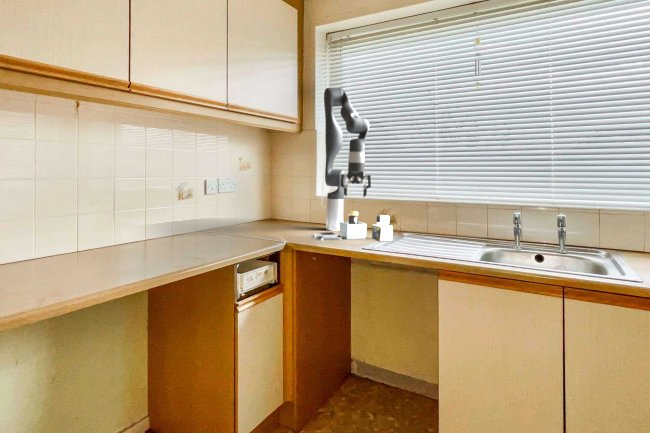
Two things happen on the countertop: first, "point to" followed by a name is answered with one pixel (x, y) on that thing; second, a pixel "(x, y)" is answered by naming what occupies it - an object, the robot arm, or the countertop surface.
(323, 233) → the mount
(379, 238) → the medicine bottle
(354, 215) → the black and gold cylinder
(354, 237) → the bin
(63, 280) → the countertop surface
